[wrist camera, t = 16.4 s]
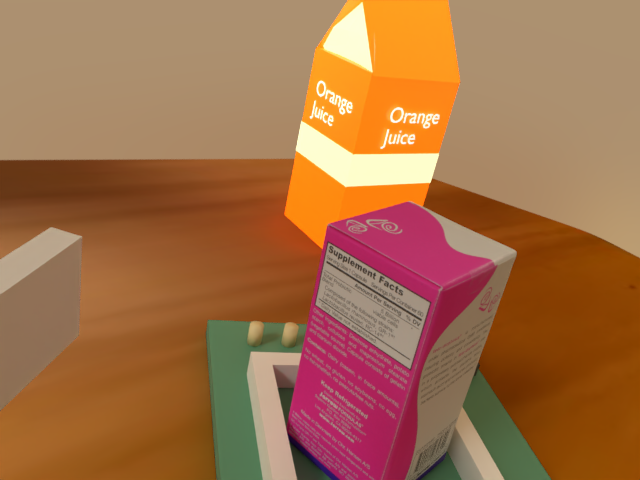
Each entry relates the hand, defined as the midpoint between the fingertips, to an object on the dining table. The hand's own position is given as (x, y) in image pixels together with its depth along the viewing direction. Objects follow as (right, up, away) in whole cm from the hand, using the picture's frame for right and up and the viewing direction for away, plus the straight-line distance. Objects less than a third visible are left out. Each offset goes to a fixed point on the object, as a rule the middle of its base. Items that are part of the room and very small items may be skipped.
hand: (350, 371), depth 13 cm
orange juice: (+2, +4, +40) cm, 40 cm away
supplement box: (+1, -7, +16) cm, 17 cm away
